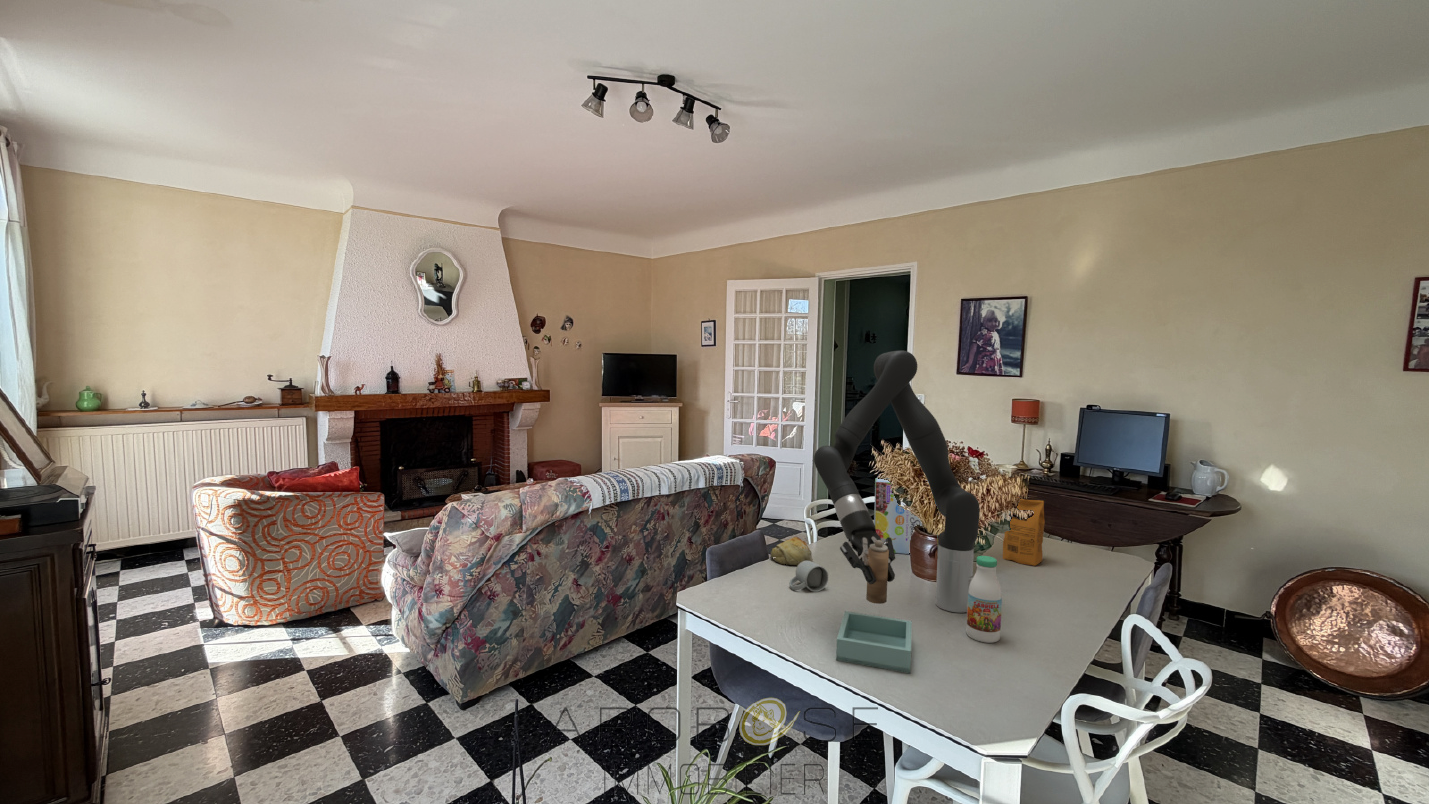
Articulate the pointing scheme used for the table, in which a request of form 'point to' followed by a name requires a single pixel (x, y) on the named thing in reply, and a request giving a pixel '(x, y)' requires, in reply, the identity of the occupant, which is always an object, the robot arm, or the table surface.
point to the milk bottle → (984, 602)
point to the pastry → (792, 552)
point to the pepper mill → (878, 572)
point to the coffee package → (1025, 535)
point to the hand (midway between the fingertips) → (882, 581)
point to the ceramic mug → (810, 577)
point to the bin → (875, 641)
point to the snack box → (892, 518)
